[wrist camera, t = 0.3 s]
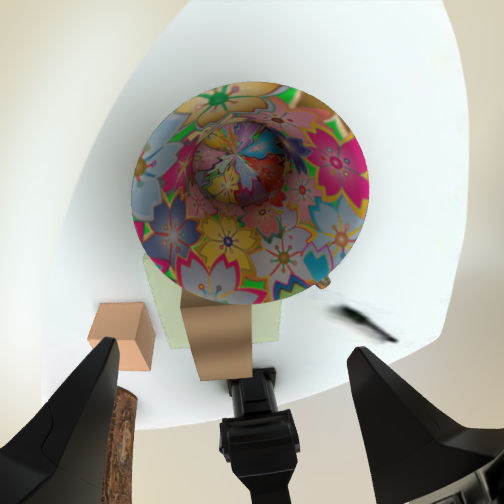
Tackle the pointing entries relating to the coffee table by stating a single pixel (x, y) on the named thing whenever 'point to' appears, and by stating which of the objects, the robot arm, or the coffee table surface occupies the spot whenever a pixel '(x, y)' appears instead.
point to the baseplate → (171, 318)
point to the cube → (126, 333)
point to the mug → (250, 193)
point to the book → (120, 450)
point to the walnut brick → (218, 337)
